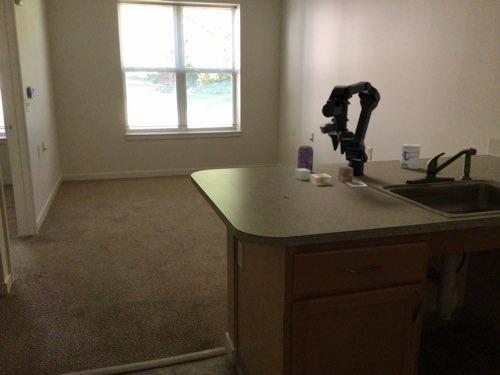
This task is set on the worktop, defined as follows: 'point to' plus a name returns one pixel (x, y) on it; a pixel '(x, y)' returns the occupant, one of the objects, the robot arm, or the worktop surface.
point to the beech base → (320, 179)
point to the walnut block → (345, 174)
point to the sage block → (302, 174)
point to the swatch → (356, 184)
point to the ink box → (410, 156)
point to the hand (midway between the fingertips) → (338, 152)
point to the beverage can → (305, 157)
